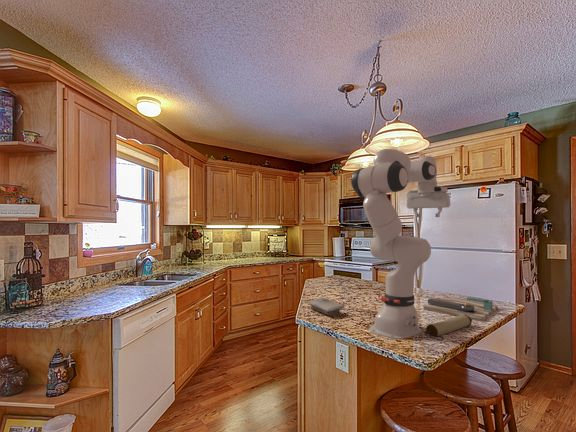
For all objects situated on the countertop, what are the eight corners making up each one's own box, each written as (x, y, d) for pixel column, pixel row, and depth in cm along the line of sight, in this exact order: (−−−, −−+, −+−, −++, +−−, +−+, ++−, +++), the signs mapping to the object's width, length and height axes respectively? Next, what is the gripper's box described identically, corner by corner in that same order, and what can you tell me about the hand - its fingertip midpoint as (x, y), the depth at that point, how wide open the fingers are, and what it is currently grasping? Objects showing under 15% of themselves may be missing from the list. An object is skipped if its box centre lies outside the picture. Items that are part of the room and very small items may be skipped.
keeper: (490, 310, 148) (490, 301, 148) (466, 306, 156) (466, 297, 156) (492, 309, 150) (492, 300, 150) (468, 305, 158) (468, 296, 158)
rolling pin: (431, 341, 116) (431, 328, 116) (418, 337, 120) (418, 324, 120) (477, 326, 132) (477, 314, 132) (464, 322, 137) (464, 311, 137)
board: (482, 321, 138) (482, 317, 138) (423, 309, 156) (423, 306, 156) (497, 308, 158) (497, 305, 158) (444, 299, 176) (444, 296, 176)
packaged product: (323, 305, 163) (307, 309, 158) (322, 296, 163) (307, 300, 158) (345, 314, 147) (328, 319, 142) (344, 304, 147) (328, 309, 142)
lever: (475, 309, 148) (475, 303, 148) (472, 312, 144) (472, 305, 144) (431, 301, 163) (431, 295, 163) (427, 303, 159) (427, 297, 159)
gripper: (404, 190, 156) (404, 217, 156) (447, 187, 142) (447, 217, 142) (409, 191, 161) (409, 217, 161) (451, 188, 147) (451, 217, 146)
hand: (427, 217), depth 151 cm, fingers open, 8 cm apart
